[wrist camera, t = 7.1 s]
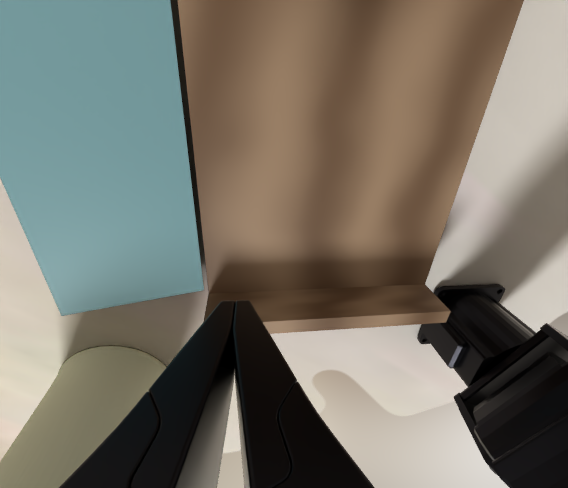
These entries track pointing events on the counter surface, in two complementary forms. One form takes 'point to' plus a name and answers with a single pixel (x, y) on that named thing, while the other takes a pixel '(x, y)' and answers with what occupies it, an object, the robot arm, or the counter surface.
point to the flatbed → (334, 148)
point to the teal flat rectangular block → (98, 149)
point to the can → (78, 414)
